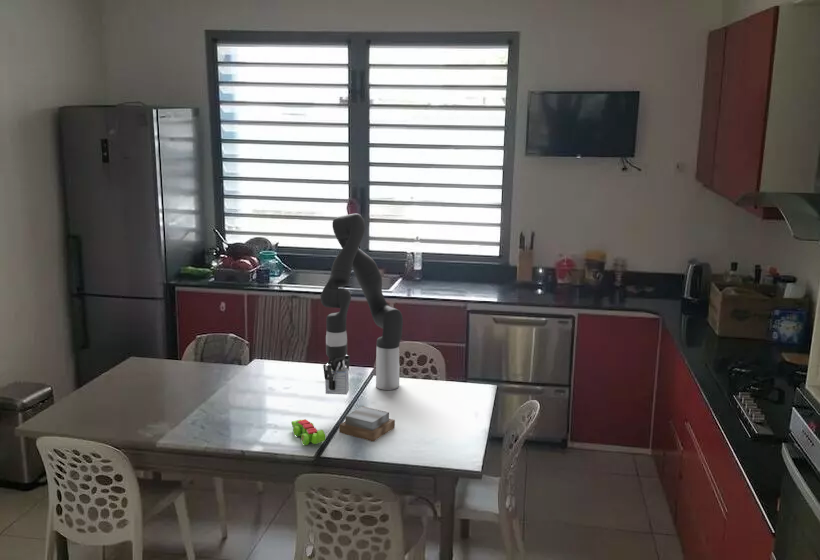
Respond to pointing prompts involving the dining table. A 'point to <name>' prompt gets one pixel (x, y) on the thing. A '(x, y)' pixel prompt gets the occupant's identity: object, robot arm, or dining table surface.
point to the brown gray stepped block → (367, 423)
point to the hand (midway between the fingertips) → (337, 386)
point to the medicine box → (339, 382)
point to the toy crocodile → (307, 432)
